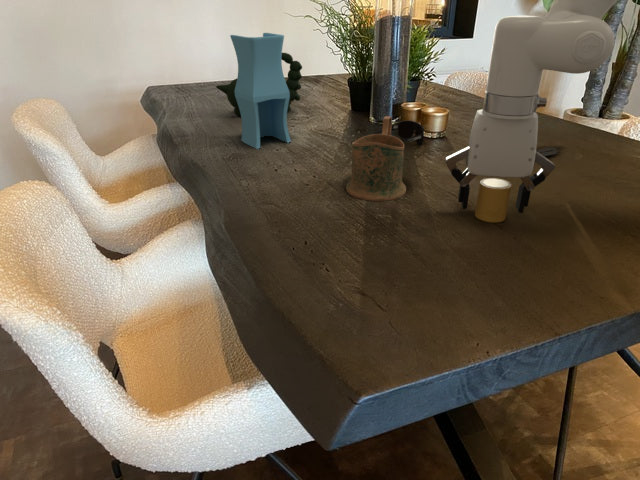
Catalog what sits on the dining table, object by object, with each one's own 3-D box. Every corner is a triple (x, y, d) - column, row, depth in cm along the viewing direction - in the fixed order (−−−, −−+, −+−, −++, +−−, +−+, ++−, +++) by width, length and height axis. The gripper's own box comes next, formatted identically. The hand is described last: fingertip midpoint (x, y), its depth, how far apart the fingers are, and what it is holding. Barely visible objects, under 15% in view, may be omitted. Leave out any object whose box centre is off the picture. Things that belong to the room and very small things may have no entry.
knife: (553, 150, 116) (555, 144, 115) (575, 158, 111) (577, 152, 110) (466, 164, 108) (467, 157, 107) (485, 173, 102) (486, 166, 102)
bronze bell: (413, 172, 103) (418, 115, 98) (401, 204, 89) (406, 139, 83) (360, 167, 106) (361, 111, 101) (339, 197, 91) (340, 134, 86)
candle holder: (503, 211, 85) (509, 178, 83) (507, 223, 81) (513, 189, 78) (473, 209, 86) (478, 177, 83) (476, 221, 82) (481, 187, 79)
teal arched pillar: (272, 133, 130) (266, 32, 119) (291, 142, 123) (287, 35, 112) (238, 139, 126) (229, 35, 114) (256, 149, 118) (248, 38, 107)
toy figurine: (296, 114, 156) (216, 111, 151) (300, 51, 147) (216, 46, 143) (300, 122, 148) (216, 118, 143) (304, 55, 139) (215, 49, 134)
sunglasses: (429, 146, 119) (429, 126, 116) (389, 160, 115) (388, 139, 112) (403, 135, 127) (402, 117, 125) (365, 148, 123) (363, 129, 120)
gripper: (563, 101, 77) (540, 202, 85) (449, 97, 80) (438, 196, 88) (576, 112, 70) (550, 221, 78) (452, 107, 73) (439, 213, 81)
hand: (491, 207), depth 83 cm, fingers open, 8 cm apart
